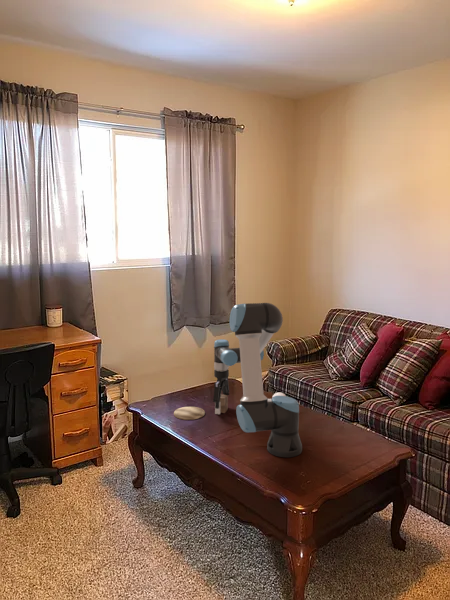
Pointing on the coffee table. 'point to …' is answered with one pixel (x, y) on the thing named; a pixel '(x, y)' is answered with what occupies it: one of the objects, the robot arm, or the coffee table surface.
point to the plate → (189, 413)
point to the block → (223, 403)
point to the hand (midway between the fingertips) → (221, 410)
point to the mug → (277, 395)
